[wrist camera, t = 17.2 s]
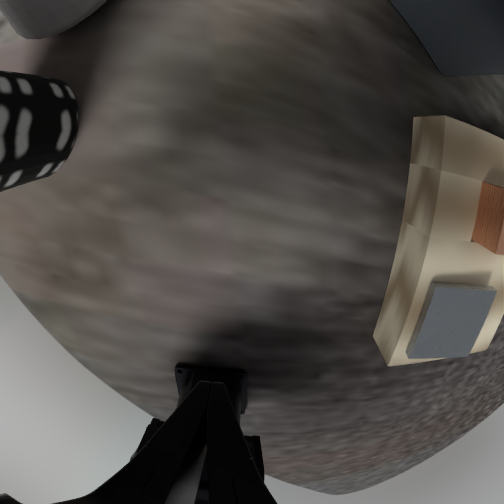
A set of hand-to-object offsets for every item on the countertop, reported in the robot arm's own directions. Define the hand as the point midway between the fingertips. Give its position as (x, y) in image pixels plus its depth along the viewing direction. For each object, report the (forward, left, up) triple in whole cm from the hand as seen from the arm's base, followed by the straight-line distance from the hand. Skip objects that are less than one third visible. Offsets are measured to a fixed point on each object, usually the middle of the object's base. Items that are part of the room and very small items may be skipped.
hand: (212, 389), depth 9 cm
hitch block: (+2, -18, -12) cm, 22 cm away
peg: (+5, -18, -12) cm, 22 cm away
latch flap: (-2, -16, -7) cm, 18 cm away
